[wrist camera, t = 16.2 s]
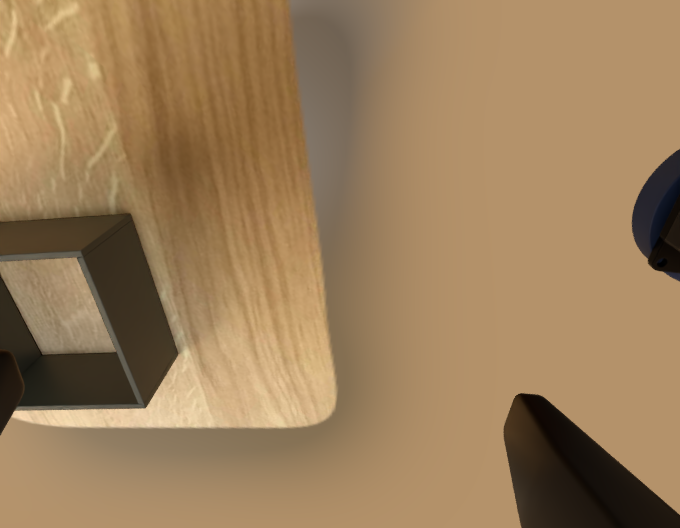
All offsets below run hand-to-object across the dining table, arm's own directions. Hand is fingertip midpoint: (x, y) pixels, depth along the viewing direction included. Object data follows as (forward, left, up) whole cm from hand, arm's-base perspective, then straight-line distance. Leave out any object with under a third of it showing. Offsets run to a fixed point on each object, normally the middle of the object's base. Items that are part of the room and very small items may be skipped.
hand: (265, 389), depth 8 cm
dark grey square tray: (+13, +8, -13) cm, 20 cm away
